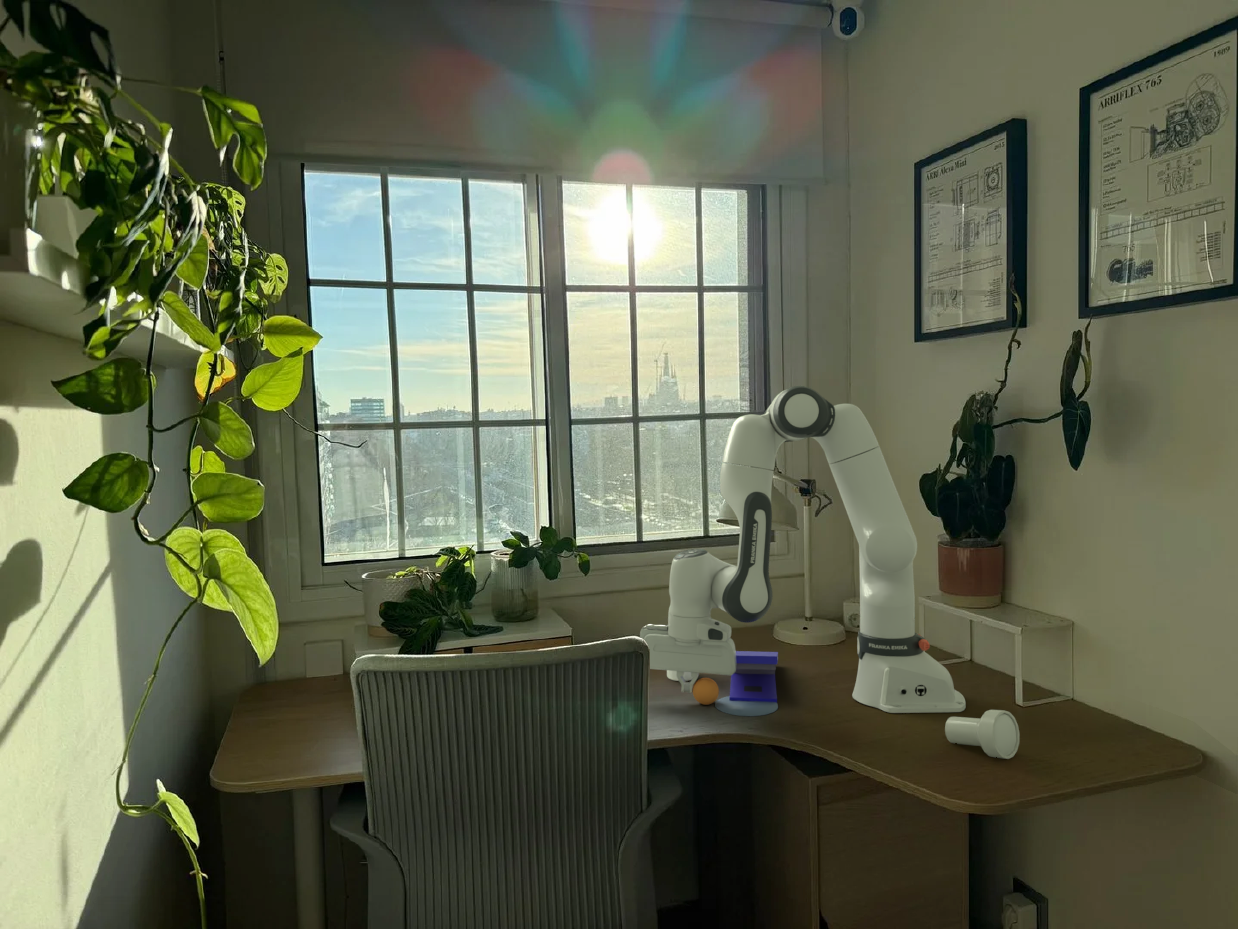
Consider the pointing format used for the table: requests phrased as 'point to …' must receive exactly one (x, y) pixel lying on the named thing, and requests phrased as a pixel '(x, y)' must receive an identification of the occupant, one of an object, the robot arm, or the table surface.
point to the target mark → (745, 707)
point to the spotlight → (986, 732)
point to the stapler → (754, 677)
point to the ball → (705, 691)
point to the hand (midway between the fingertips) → (687, 691)
